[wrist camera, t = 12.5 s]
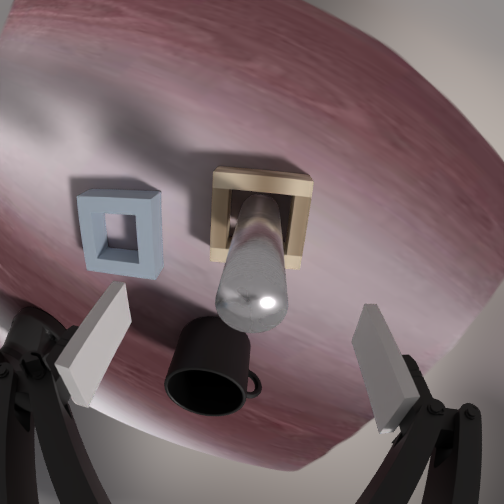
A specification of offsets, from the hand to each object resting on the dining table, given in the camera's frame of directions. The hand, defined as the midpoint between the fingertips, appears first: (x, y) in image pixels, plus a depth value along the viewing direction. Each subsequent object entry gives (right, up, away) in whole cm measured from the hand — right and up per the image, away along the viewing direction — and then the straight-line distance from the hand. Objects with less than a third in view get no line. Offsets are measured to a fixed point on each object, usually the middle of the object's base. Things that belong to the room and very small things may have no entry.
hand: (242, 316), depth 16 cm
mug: (-3, -9, +24) cm, 26 cm away
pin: (+1, +7, +15) cm, 17 cm away
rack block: (+1, +7, +15) cm, 17 cm away
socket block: (-14, +6, +17) cm, 22 cm away
